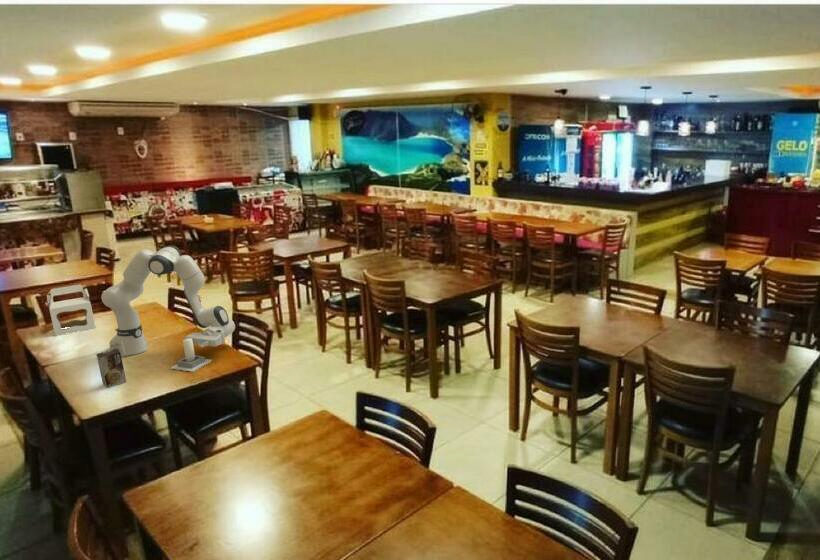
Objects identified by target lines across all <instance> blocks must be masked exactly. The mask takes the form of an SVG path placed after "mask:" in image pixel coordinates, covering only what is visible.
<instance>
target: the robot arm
mask: <svg viewBox="0 0 820 560" xmlns="http://www.w3.org/2000/svg"><path fill="white" fill-rule="evenodd" d="M173 272H174V273H176V274H177V275H178V277H179V279H180V280H181V282H182V284H183V287H184V288H183V294H184V297H185V299H186V301H187V303H188V306H189V308H190V311H191V312H192V316H193V318H194V321H195V325H197V326H198V327H199V328H201V329H204V330H203V332H192V333H190V334H188V335H186V336H185V337H184V339H188V338H191V339H192V340H193V345H199V348H204V347H207V346H209V347H218V346H220V345H222V344H224V343H225V342H226V338H227V337H229V336H230V335H232V333H233V332H234V331H235V330H236V325H235V322H234V321H233V320H232V319H231V318H230V317H229V315H228V313H227V310H226V309H225V308H224V307H223V306H220V305H217V306H213V307H209V308H204V307H203V305H202V303H201V301H200V298H199V296H198V293H199V291H200V290H201V289H202V288H203V287H204V285H205V282H206V277H205V274H204V272H203V271H202V269H201V268H200V266H199V265H198V264H197V263H196V261H195V260H194V259H193V257H192V256H190V255H188V254H183V255H182V251H181V250H180V248H179V247H177V246H175V245H166V246H163V247H161V248H158V249H157V251H153V250H150V249H147V248H143V249H140V250H139V251H138V252H137V253H136V254H135V255H134V256H133V258H132V259H131V260H130V262H128V265H127V266H126V268H125V269H124V271H123V274H122V276H123V279H122V281H120V282H119V283H117V284H115V285H111V286H110V287H108V288H107V289H105V290H104V291H103V292H102V294H101V302H102V303H103V304H104V306H105V307H107V308H110V309H111V310H112V312H113V314H114V316H115V320H116V323H117V325H116V326H117V328H115V329H114V331H115V332H116V334H115V336H114V337H112V339H111V340H110V341H109V348H107V349H106V350H105V351H109V350H112V349H117V350H119V351H120V353H121V358H122V357H126V356H135V355H138V354H141V353H143V352H145V351H147V350H148V349H149V346H148V345H149V344H148V342H147V341H146V338H145V337H146V336H145V334H144V331H143V325H142V324H141V321H140V316H139V315H140V314H139V311H138V310H137V309H134V308H133V307H132V305H131V301H133V300H136V299H137V298H139V297H140V296H141V295H142V294H143V292H144V289H145V288H144V283H145V281H146V280H147V278H148V277H149V275H150V274H151V273H152V274H154V275H156V276H164V275H170V274H172V273H173Z"/></svg>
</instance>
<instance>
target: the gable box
mask: <svg viewBox="0 0 820 560" xmlns="http://www.w3.org/2000/svg"><path fill="white" fill-rule="evenodd" d="M73 293H82V297H77V298H72V299H71V298H70V299H64V300H59V301H54V297H56V296H63V295H68V294H73ZM46 300H47V304H48V310H49V313H50V314H49V315H50V320H51V322H52V323H51V324H52V327H53V331H54V337H58V336H57V335H60V336H62V335H61V334H65V335H67V334H66V333H70V334H73V333H72V332H75V333H78V332H77V331H80V332H84V330H85V331H89V329H90V330H93V329H96V324H95V319H94V317H95V316H94V313H93V309H92V307H93V306H92V304H91V301H90V294H89V291H88V288H87V287H85V288H84V287H83V285H82V284H80V283H79V284H73V285H68V286H61V287H60V286H59V287H55V288H51V289H50V294H46ZM79 310H84V315H85V319H82V320H80V319H79V320H78V319H75V320H73V319H72V320H71V321H68V322H65V323H61V318H60V316H59V314H60V313H64V312H74V311H79ZM65 327H70V328H67V329H61V328H65Z"/></svg>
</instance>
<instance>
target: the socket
mask: <svg viewBox="0 0 820 560" xmlns="http://www.w3.org/2000/svg"><path fill="white" fill-rule="evenodd" d="M195 359H196V360H195V361H193V362H192V363H191V362H186V358H185V357H183V358H181V359H179V360H178V361H176V364H174V365H173V366H171V367H170V370H172V369H175V370H174V371H179V370H183V371H182V372H185V371H190V372H189V373H192V372H193V373H195V372H196V371H195V370H197V369H198V370H200V369H202V368H203V367H202V366H204V365H205V366H207V365H209V364H210V363H212V362H213V360H212V359H206V358H205V356H202V355H197V354H195ZM211 361H212V362H211ZM209 362H210V363H209ZM208 363H209V364H208ZM206 364H207V365H206ZM205 366H204V367H205ZM201 367H202V368H201ZM199 368H200V369H199ZM198 370H197V371H198ZM194 371H195V372H194Z"/></svg>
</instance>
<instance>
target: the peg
mask: <svg viewBox="0 0 820 560" xmlns="http://www.w3.org/2000/svg"><path fill="white" fill-rule="evenodd" d="M182 345H183V352H184V356H185V357H184V358H186V362H191V363H192V362H193V361H195V360H196V359H195V355H196V354H195V348H194V344H193V340H192V339H191V338H188V339H185V338H184V339H183V340H182Z"/></svg>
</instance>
